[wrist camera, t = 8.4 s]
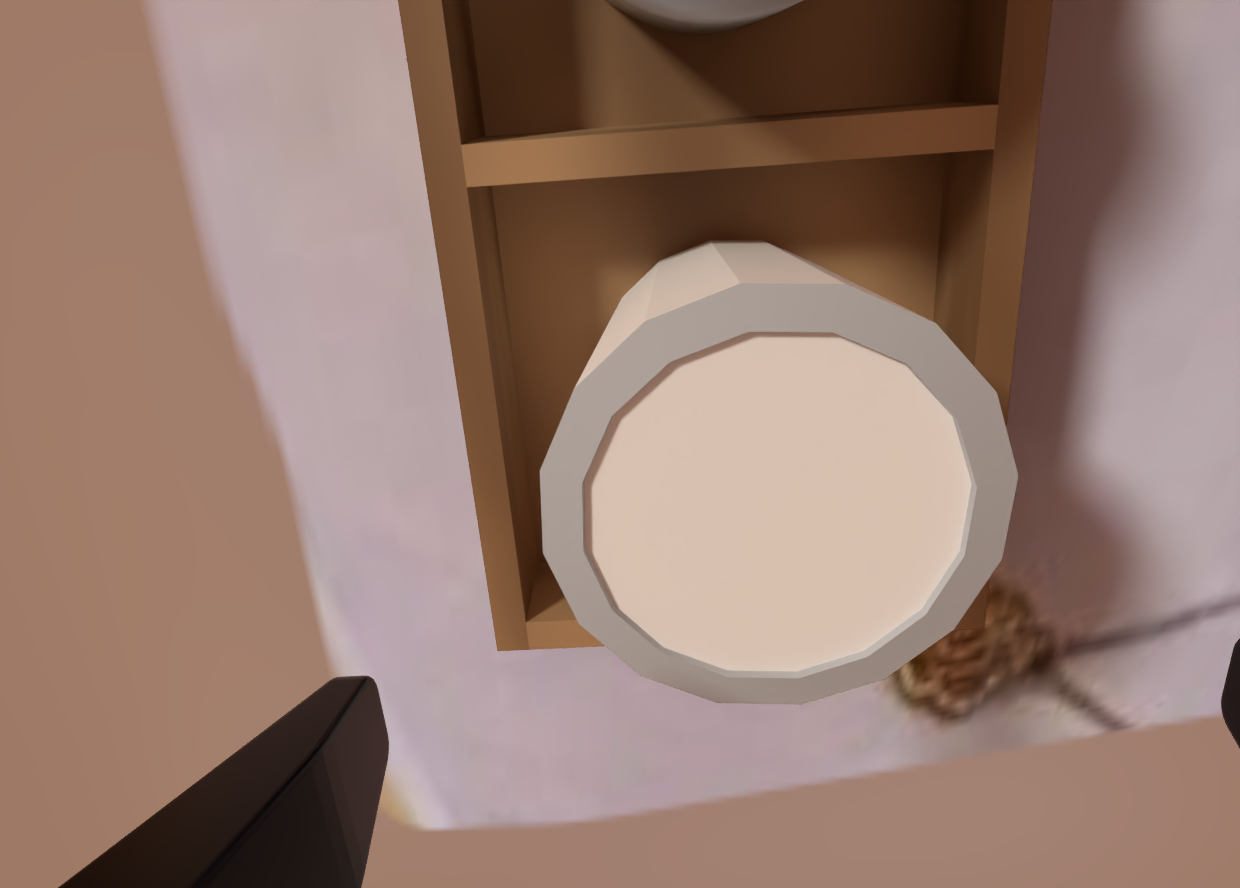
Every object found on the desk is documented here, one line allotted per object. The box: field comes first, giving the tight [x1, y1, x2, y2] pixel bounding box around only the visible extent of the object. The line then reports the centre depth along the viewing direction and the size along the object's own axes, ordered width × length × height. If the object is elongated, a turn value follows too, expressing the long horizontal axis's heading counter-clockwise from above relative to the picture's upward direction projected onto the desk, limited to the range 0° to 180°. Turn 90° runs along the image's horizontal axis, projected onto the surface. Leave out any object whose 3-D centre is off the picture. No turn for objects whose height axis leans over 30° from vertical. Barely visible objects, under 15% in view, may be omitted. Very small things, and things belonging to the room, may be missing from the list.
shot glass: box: [540, 240, 1018, 704], centre depth 16 cm, size 7×7×7 cm
